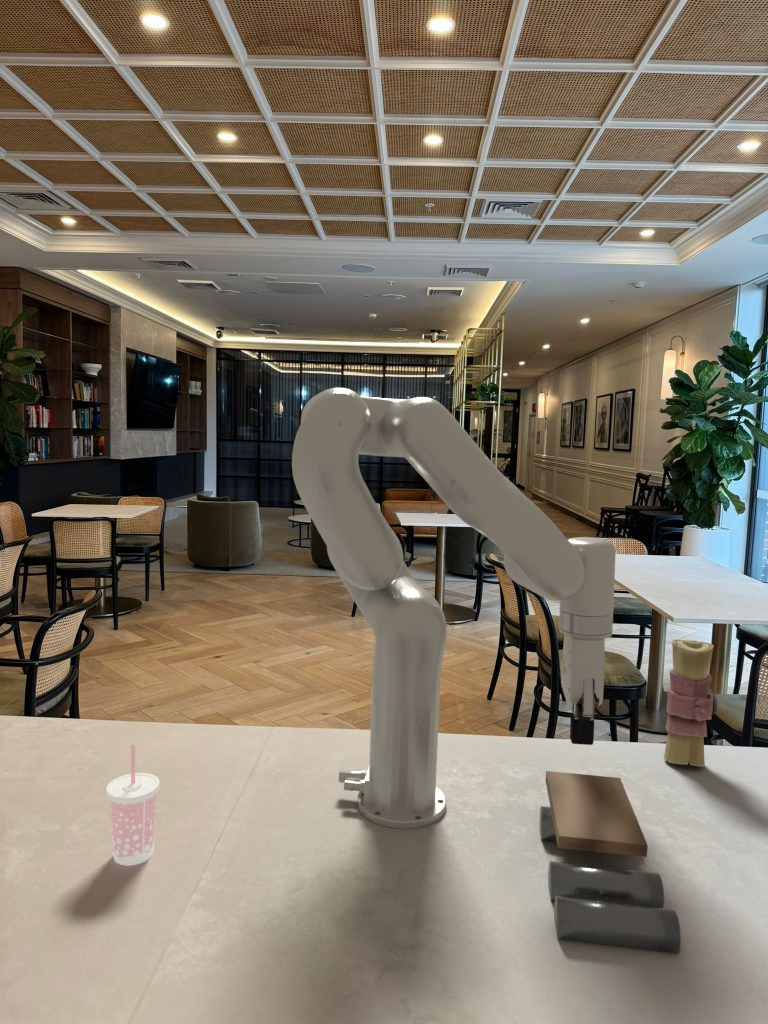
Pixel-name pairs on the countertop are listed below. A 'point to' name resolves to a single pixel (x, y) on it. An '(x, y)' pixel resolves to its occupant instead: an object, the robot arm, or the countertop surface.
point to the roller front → (605, 884)
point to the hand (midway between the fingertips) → (581, 741)
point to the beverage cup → (133, 815)
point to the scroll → (689, 702)
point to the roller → (617, 924)
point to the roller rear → (547, 824)
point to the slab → (593, 814)
